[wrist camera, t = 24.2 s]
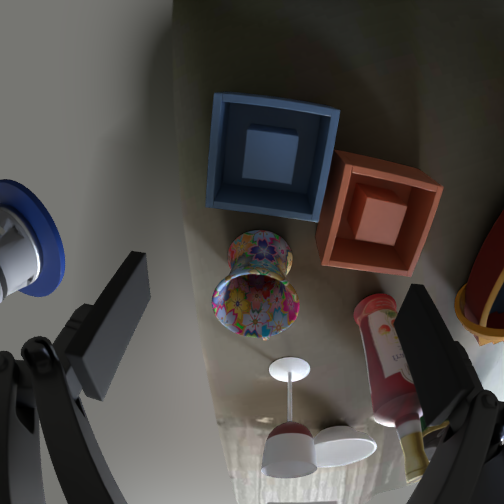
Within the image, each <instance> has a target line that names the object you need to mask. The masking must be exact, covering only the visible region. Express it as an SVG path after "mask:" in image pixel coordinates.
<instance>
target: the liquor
mask: <svg viewBox="0 0 504 504" xmlns="http://www.w3.org/2000/svg"><path fill="white" fill-rule="evenodd" d="M397 315H398V314H397V312H396V302H395V300H394V299H393V298H392V297H391V296H389V295H387V294H374V295H370V296H368V297H366V298H365V299H363V300H362V301H361V302H360V303H359V304H358V305H357V306H356V308H355V310H354V320H355V321H356V323H357V324H358V325H359V328H360V332H361V337H362V342H363V347H364V352H365V358H366V364H367V371H368V379H369V386H370V392H371V398H372V405H373V413H374V420H375V421H376V422H377V423H379V424H382V425H385V426H389V427H395V428H396V431H397V434H398V437H399V441H400V444H401V447H402V450H403V454H404V457H405V475H406V481H407V483H415V482H418V481H420V480H421V478H422V476H423V474H424V472H425V470H426V468H427V466H428V465H429V460H428V458H427V456H426V454H425V452H424V445H423V437H422V429H421V422H420V417H422V416H423V412H422V409H421V405H420V402H419V399H418V395H417V392H416V389H415V386H414V383H413V379H412V376H411V373H410V370H409V367H408V364H407V361H406V358H405V356H404V353H403V350H402V347H401V344H400V341H399V339H398V336H397V333H396V331H395V328H394V325H393V323H394V321H395V319H396V317H397Z"/></svg>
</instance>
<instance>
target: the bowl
mask: <svg viewBox="0 0 504 504" xmlns="http://www.w3.org/2000/svg"><path fill="white" fill-rule="evenodd" d="M313 441H314V445H315V451H316V460H317V467H336V466H342V465H347V464H351V463H354V462H357V461H360V460H362V459H364V458H366V457H368V456H370V455H371V454H372V453H373V452H374V451H375V450H376V448H377V445H376V443H375V441H374V439H373V438H372V437H370V436H369V435H368V434H366V433H364V432H359V431H356V430H354V429H353V428H352V427H349V426H334V427H329V428H326V429H324V430H322V431H320V432H319V433H318V434H317V435H316V437H314V438H313Z"/></svg>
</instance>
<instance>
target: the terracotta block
mask: <svg viewBox="0 0 504 504" xmlns="http://www.w3.org/2000/svg"><path fill="white" fill-rule="evenodd" d="M406 209H407V205H406V204H405V203H404V202H403V201H402V200H401V199H400V198H399V197H398V195H397V194H396V193H395V192H394V191H392V190H388V189H384V188H379V187H375V186H370V185H366V184H361V183H356V186H355V190H354V194H353V198H352V201H351V205H350V209H349V213H348V216H347V222H348V224H349V226H350V228H351V230H352V233H353V235H354V237H355V239H360V240H366V241H372V242H378V243H383V244H389V245H394V244H395V241H396V239H397V236H398V233H399V230H400V227H401V224H402V221H403V218H404V215H405V212H406Z"/></svg>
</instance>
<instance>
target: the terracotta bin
mask: <svg viewBox="0 0 504 504" xmlns="http://www.w3.org/2000/svg"><path fill="white" fill-rule="evenodd" d="M356 183H361V184H366V185H370V186H375V187H379V188H384V189H388V190H392V191H394V192H395V193H396V194H397V195H398V197H399V198H400V199H401V200H402V201H403V202H404V203H405V204H406V205H407V209H406V212H405V215H404V218H403V221H402V224H401V227H400V230H399V233H398V236H397V239H396V241H395V244H394V245H389V244H383V243H378V242H372V241H366V240H360V239H355V237H354V235H353V233H352V230H351V228H350V226H349V224H348V222H347V216H348V213H349V209H350V205H351V201H352V198H353V194H354V190H355V186H356ZM442 191H443V186H441V185H440V184H439V183H437V182H436V181H435V180H433V179H432V178H431V177H429V176H428V175H427V174H425V173H424V172H422V171H421V170H420V169H417V168H413V167H409V166H405V165H402V164H398V163H394V162H390V161H386V160H381V159H377V158H373V157H368V156H364V155H359V154H355V153H350V152H345V151H340V150H335V149H334V150H333V154H332V159H331V165H330V170H329V175H328V179H327V184H326V189H325V194H324V199H323V203H322V208H321V212H320V217H319V221H318V226H317V230H316V234H315V238H316V243H317V248H318V252H319V257H320V262H321V265H325V266H332V267H340V268H348V269H355V270H363V271H371V272H378V273H386V274H394V275H401V276H409V277H411V276H412V273H413V271H414V269H415V266H416V264H417V261H418V259H419V256H420V254H421V251H422V249H423V246H424V243H425V241H426V238H427V235H428V233H429V230H430V227H431V224H432V222H433V219H434V216H435V213H436V210H437V207H438V204H439V201H440V197H441V194H442Z"/></svg>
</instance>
